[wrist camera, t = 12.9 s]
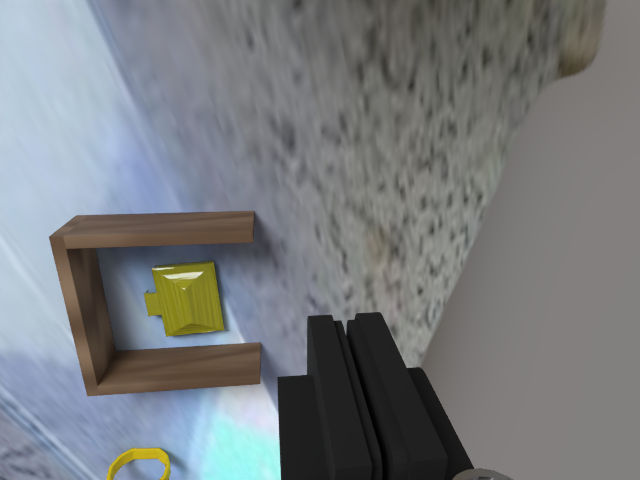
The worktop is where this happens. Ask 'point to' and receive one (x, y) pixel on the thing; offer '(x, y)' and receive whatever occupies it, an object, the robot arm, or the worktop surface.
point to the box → (92, 314)
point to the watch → (140, 454)
